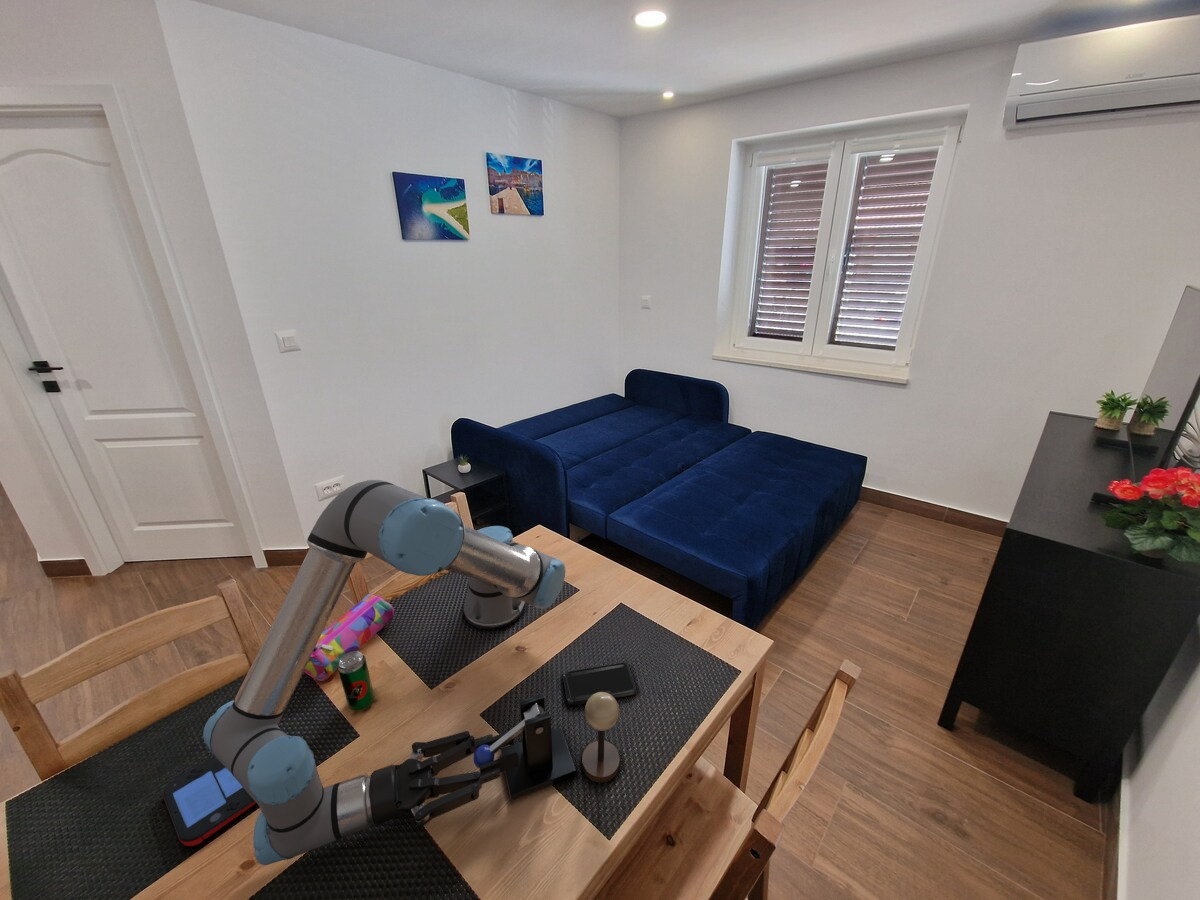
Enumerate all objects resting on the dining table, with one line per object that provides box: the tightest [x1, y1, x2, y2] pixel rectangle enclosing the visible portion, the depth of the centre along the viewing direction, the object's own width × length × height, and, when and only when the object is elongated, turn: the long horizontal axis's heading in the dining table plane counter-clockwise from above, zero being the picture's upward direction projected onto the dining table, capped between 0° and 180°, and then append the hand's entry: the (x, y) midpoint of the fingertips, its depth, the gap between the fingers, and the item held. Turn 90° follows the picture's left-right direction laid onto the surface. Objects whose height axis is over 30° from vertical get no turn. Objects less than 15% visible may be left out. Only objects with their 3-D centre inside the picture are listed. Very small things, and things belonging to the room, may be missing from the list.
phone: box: [562, 662, 637, 707], centre depth 106 cm, size 8×1×15 cm
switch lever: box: [472, 703, 546, 770], centre depth 84 cm, size 14×4×4 cm
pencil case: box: [303, 593, 395, 682], centre depth 112 cm, size 22×9×9 cm, turn 160°
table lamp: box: [581, 692, 621, 784], centre depth 87 cm, size 7×7×17 cm
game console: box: [162, 756, 257, 847], centre depth 84 cm, size 14×13×2 cm
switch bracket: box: [500, 693, 577, 801], centre depth 87 cm, size 12×9×15 cm
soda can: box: [337, 650, 375, 712], centre depth 99 cm, size 5×5×12 cm
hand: (515, 747), depth 86 cm, fingers closed on switch lever, 4 cm apart
